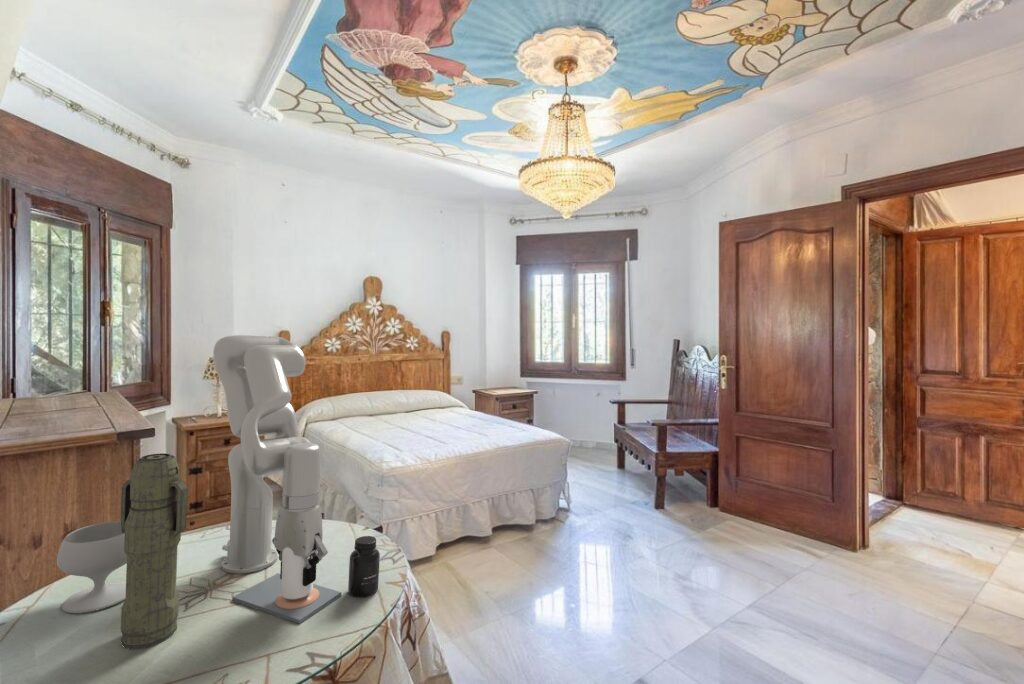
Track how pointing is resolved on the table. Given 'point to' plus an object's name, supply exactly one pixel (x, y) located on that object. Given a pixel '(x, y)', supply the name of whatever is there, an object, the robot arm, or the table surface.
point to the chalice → (94, 565)
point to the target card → (285, 600)
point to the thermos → (152, 549)
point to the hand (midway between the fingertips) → (298, 579)
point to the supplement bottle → (364, 567)
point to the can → (293, 576)
